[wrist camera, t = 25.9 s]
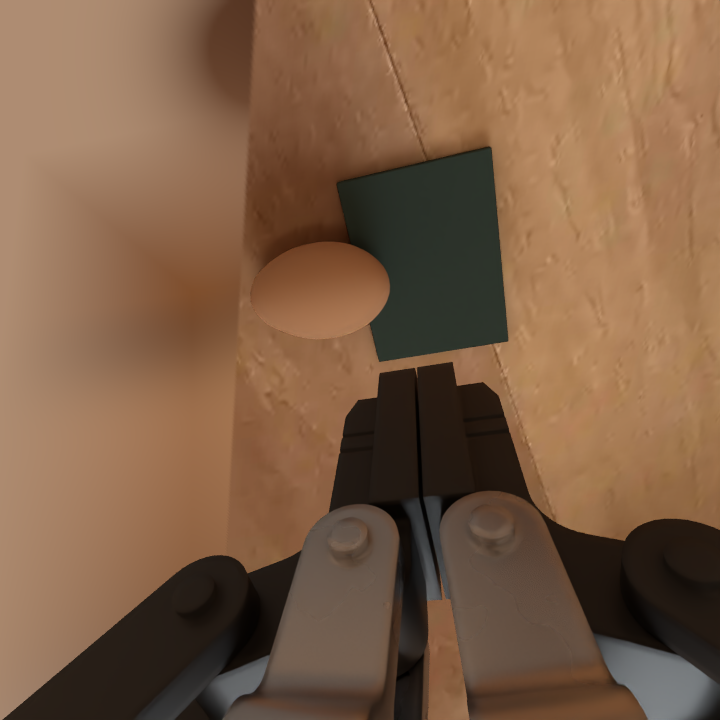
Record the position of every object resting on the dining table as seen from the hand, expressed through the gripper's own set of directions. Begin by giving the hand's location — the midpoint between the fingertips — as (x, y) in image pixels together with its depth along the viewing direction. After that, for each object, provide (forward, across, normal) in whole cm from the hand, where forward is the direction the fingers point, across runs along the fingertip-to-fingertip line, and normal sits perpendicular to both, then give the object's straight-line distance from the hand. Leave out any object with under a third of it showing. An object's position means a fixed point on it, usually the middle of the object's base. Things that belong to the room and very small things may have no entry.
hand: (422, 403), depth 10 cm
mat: (+18, 0, +3) cm, 18 cm away
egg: (+15, +2, +3) cm, 15 cm away
